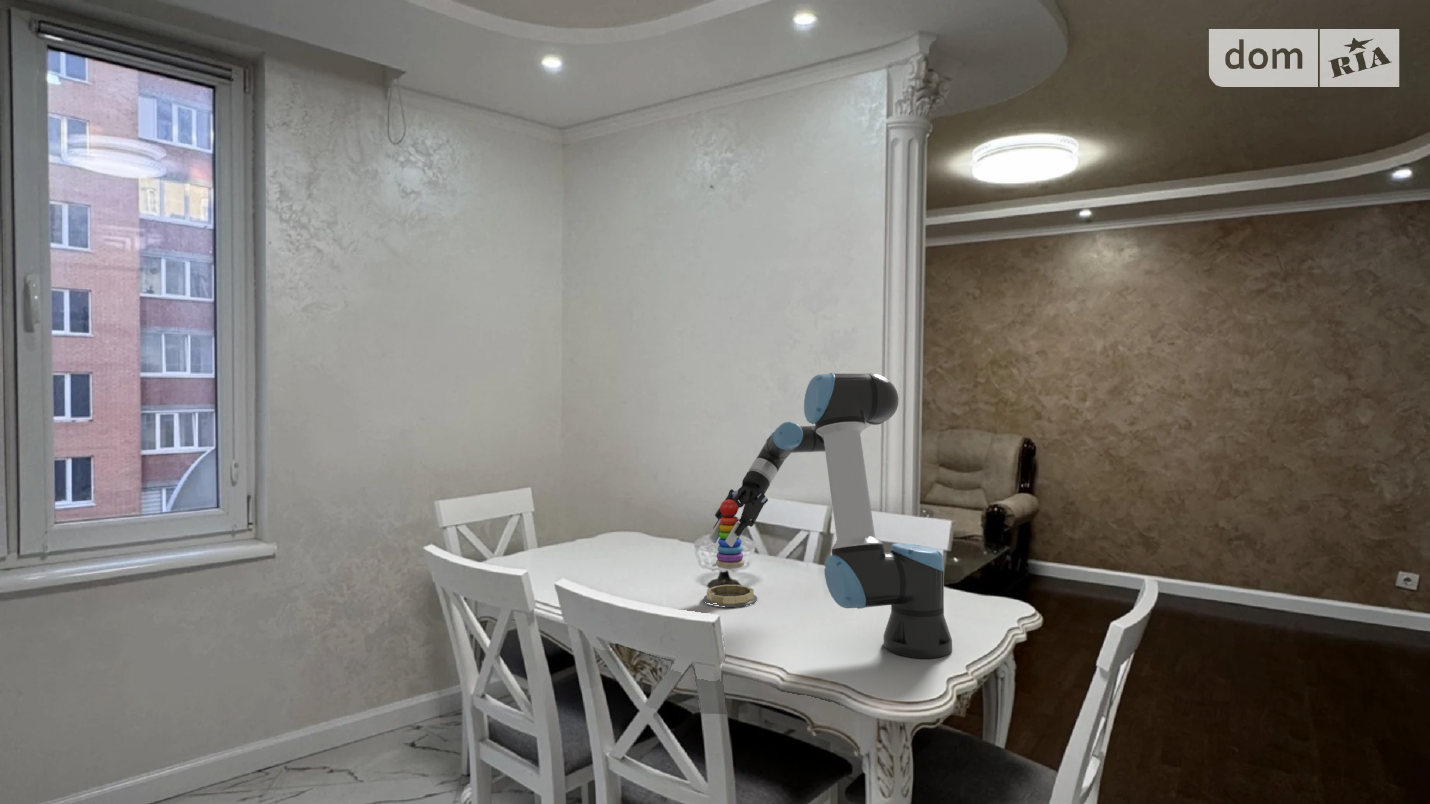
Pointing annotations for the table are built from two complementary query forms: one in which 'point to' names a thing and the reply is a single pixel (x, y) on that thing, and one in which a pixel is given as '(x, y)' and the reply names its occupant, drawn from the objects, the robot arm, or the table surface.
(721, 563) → the stacking toy
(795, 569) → the table surface
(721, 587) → the collar plate
